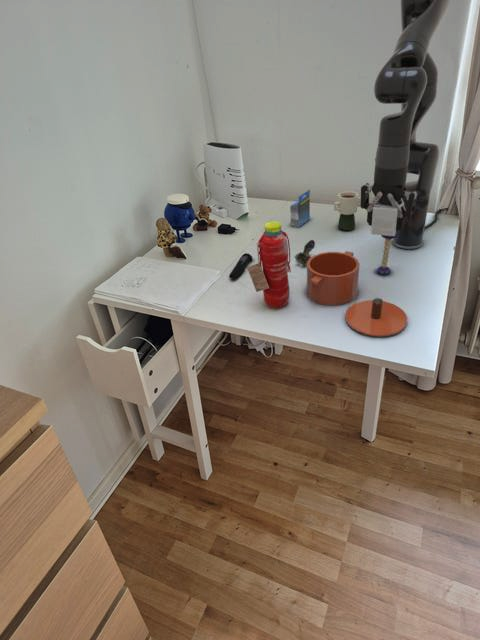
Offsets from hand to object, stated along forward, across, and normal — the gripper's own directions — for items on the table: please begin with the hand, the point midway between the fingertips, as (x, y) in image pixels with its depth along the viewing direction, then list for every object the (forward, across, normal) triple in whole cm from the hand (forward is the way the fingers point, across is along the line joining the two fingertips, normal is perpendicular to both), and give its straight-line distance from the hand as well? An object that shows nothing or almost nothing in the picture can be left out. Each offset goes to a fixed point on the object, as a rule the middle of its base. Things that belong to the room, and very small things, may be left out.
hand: (384, 227), depth 114 cm
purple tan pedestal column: (+22, +4, -13) cm, 26 cm away
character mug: (+22, +30, -37) cm, 52 cm away
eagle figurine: (+22, +29, -8) cm, 37 cm away
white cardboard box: (+1, 0, 0) cm, 1 cm away
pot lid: (+21, -5, +11) cm, 24 cm away
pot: (+22, +12, +4) cm, 25 cm away
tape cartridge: (+22, +48, -33) cm, 62 cm away
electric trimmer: (+22, +44, +8) cm, 50 cm away
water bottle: (+22, +23, +19) cm, 37 cm away
